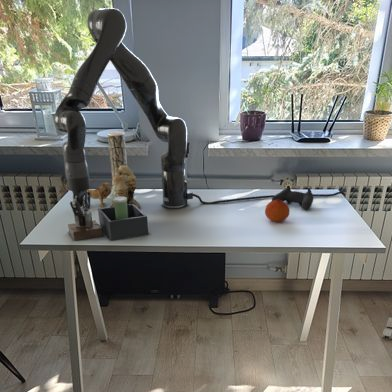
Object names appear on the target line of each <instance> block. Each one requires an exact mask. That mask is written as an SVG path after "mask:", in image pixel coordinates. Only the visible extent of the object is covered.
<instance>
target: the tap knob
mask: <svg viewBox="0 0 392 392" xmlns="http://www.w3.org/2000/svg"><path fill="white" fill-rule="evenodd" d="M84 214H85V215H84V216H85V222H86V226H85V227H90V228H91V227H92V226H93V221H94V220H93V213H92V211H90V210H89V211H84ZM73 217H74V222H75V224H76V227H81V226H79V220H78V216H75V215H74V214H73Z"/></svg>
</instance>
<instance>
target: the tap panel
mask: <svg viewBox="0 0 392 392" xmlns="http://www.w3.org/2000/svg"><path fill="white" fill-rule="evenodd" d="M92 221H93V226H92V227H91V228H90V227H76V224H75V223H68V224H67V228H68V233H69V234H70V236H71V237H72V239H73V241H82V240H87V239H93V238H100V237H103V230H102V228H101V227H100V223H99V222H97V220H94V219H93V220H92Z"/></svg>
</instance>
